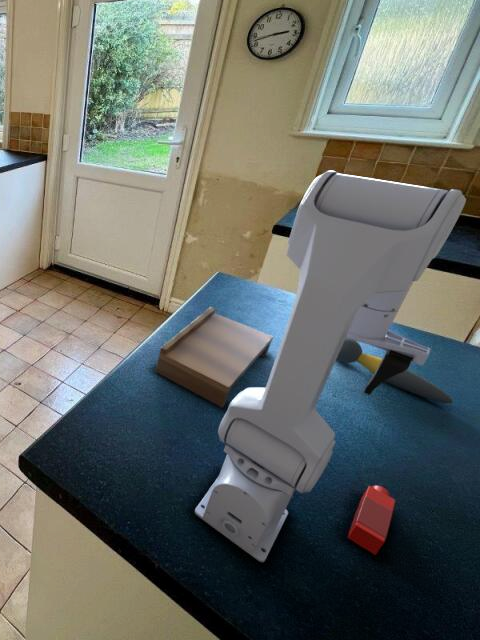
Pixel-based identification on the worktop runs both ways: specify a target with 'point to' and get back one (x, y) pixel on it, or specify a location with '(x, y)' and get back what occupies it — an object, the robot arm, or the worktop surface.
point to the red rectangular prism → (372, 519)
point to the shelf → (211, 355)
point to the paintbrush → (403, 380)
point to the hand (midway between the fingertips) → (334, 377)
